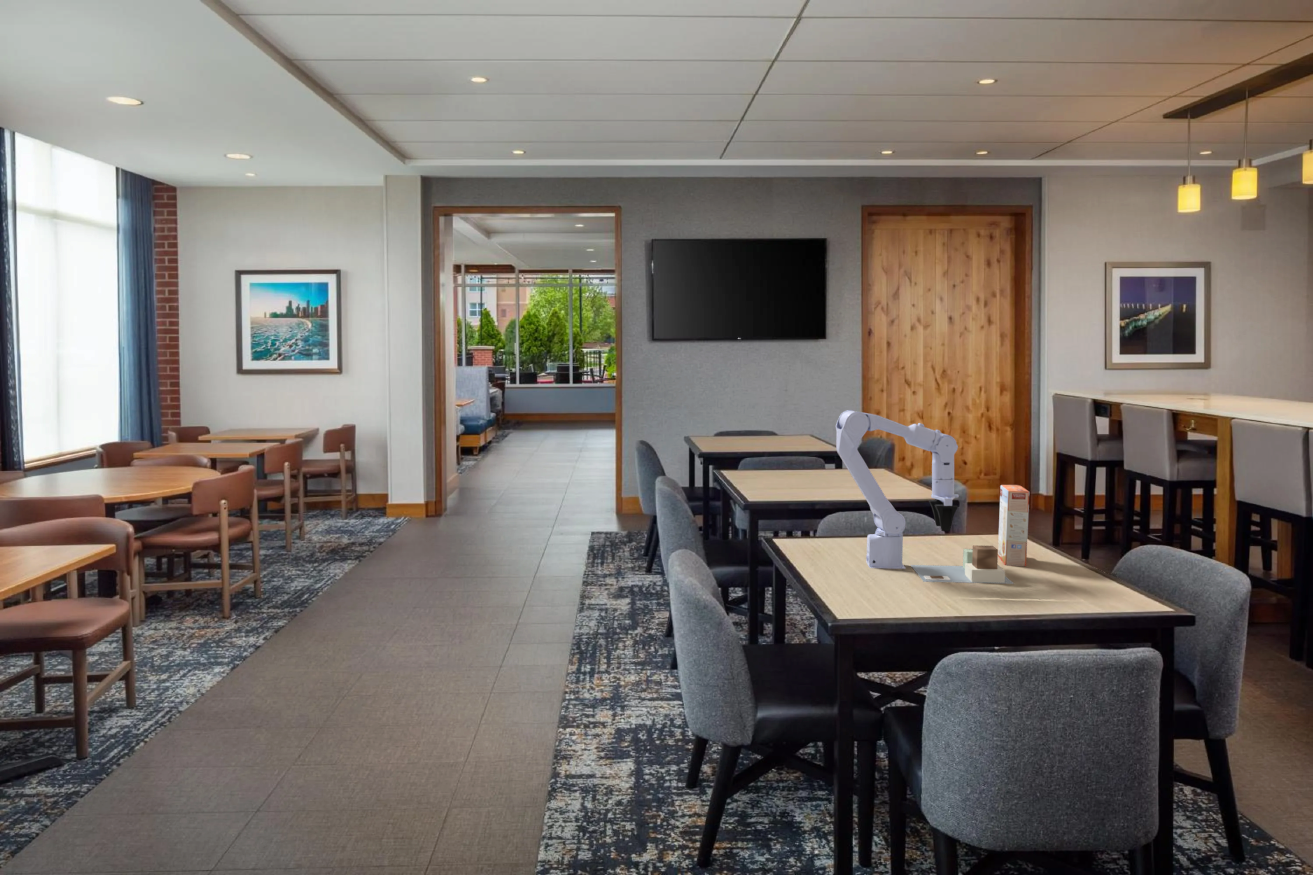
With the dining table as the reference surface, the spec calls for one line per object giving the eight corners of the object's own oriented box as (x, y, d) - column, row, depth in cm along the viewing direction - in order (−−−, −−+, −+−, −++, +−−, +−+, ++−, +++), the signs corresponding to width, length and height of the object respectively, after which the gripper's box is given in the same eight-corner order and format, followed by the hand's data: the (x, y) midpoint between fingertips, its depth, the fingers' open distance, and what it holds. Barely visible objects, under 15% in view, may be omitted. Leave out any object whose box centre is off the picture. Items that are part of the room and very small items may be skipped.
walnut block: (976, 568, 247) (977, 549, 246) (972, 564, 252) (972, 545, 251) (997, 569, 246) (997, 549, 246) (992, 565, 251) (992, 545, 251)
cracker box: (1027, 568, 264) (1030, 490, 263) (1004, 567, 266) (1006, 490, 264) (1019, 557, 278) (1021, 484, 276) (997, 556, 279) (999, 483, 278)
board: (923, 583, 246) (923, 579, 246) (910, 566, 266) (910, 563, 266) (1013, 585, 244) (1014, 581, 244) (994, 568, 263) (994, 565, 263)
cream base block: (971, 581, 246) (972, 569, 245) (964, 574, 253) (965, 563, 253) (1004, 582, 245) (1005, 570, 245) (996, 575, 253) (997, 563, 252)
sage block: (967, 571, 258) (967, 552, 257) (962, 567, 263) (963, 548, 262) (986, 571, 257) (987, 552, 257) (982, 567, 262) (982, 549, 262)
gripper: (964, 481, 256) (964, 533, 257) (952, 475, 271) (952, 523, 272) (936, 482, 257) (936, 533, 258) (926, 475, 271) (926, 523, 272)
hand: (943, 528), depth 265 cm, fingers open, 7 cm apart
